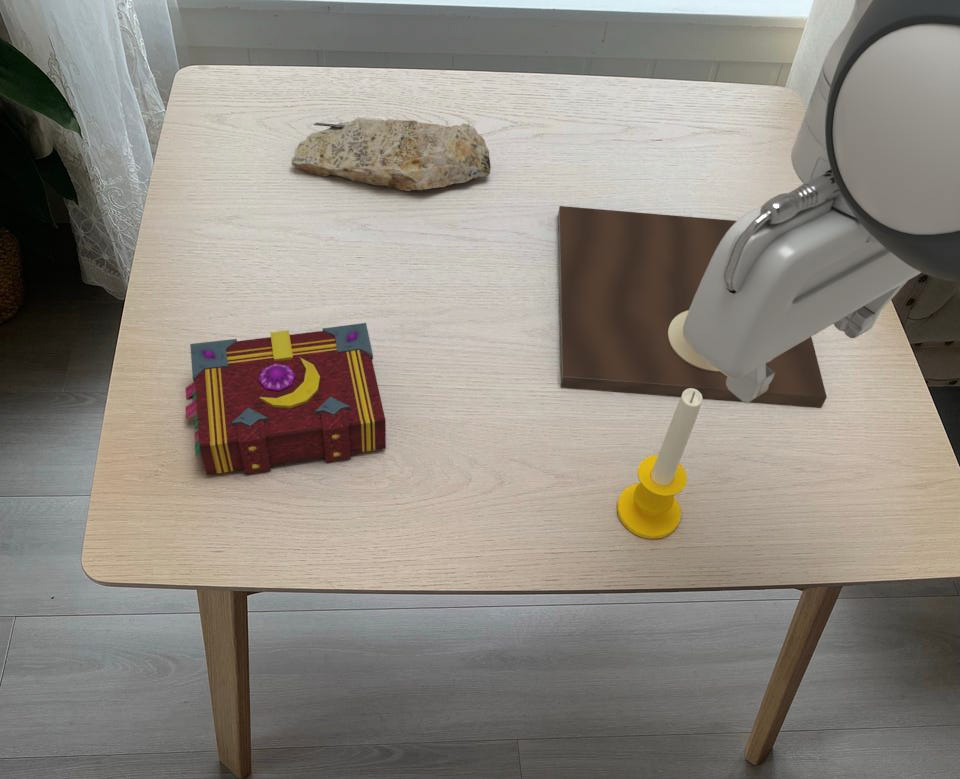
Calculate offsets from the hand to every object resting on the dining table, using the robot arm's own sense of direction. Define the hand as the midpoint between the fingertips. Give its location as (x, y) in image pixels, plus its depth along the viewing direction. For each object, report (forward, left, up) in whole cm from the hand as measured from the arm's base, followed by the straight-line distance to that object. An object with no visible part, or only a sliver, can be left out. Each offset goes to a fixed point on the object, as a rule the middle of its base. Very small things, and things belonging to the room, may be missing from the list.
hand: (799, 358), depth 54 cm
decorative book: (+33, +14, -27) cm, 45 cm away
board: (+20, -24, -26) cm, 41 cm away
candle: (+6, -3, -27) cm, 27 cm away
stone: (+54, -15, -27) cm, 62 cm away
